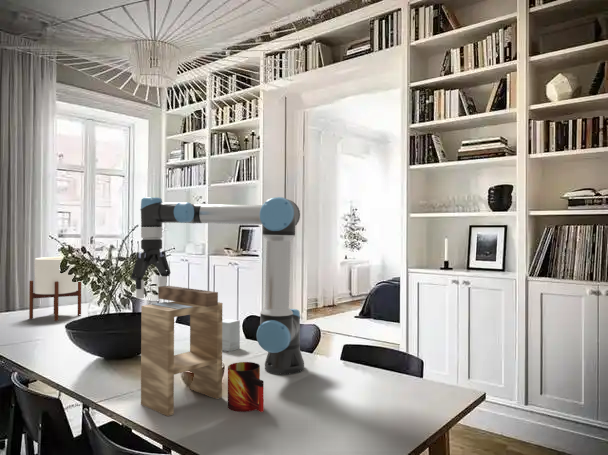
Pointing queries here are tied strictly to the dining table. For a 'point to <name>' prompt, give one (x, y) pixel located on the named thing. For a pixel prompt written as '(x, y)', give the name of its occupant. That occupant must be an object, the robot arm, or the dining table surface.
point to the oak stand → (163, 362)
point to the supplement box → (230, 334)
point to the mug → (245, 387)
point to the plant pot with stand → (52, 284)
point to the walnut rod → (188, 295)
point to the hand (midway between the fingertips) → (152, 295)
